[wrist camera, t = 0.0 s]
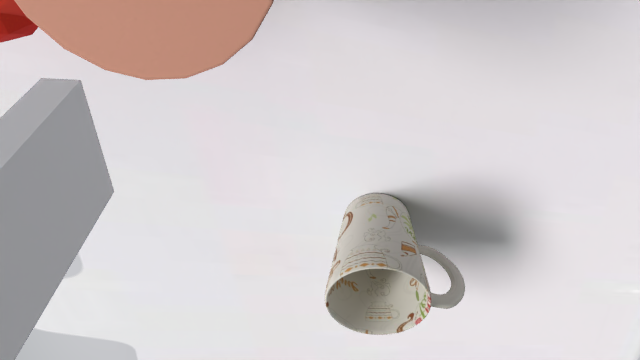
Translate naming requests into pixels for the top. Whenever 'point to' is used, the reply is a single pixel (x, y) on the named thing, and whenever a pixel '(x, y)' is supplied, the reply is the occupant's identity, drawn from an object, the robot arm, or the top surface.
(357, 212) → the mug
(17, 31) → the tomato
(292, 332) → the top surface
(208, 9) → the coffee jar
